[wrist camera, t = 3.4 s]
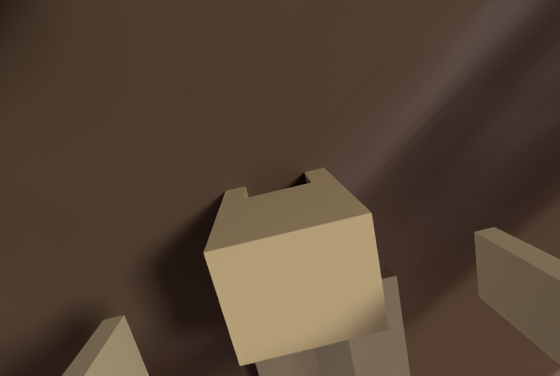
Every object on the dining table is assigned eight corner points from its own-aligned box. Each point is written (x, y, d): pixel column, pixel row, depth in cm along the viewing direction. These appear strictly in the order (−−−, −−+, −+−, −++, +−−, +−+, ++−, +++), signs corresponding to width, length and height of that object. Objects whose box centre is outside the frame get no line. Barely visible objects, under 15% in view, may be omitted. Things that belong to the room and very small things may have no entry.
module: (247, 266, 20) (240, 368, 12) (225, 191, 18) (203, 252, 11) (338, 244, 20) (389, 333, 12) (323, 167, 19) (371, 212, 11)
